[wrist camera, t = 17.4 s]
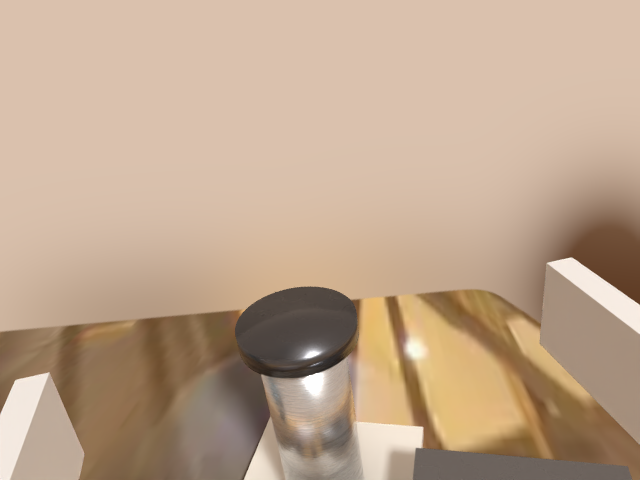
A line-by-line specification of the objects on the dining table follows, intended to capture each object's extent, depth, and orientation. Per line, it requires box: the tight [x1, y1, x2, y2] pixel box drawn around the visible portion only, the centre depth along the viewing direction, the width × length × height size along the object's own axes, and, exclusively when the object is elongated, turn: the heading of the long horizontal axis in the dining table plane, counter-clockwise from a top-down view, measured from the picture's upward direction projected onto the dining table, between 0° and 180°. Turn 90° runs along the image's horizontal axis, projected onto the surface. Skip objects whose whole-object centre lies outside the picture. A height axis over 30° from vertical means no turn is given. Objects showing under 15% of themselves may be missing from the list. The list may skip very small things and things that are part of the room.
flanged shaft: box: [235, 287, 365, 480], centre depth 38 cm, size 8×8×16 cm
